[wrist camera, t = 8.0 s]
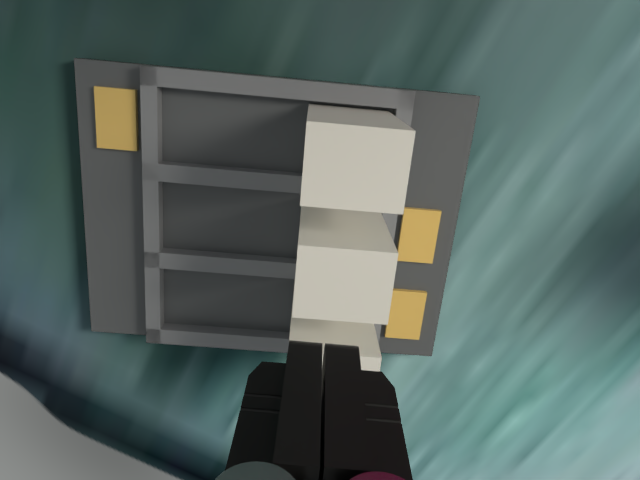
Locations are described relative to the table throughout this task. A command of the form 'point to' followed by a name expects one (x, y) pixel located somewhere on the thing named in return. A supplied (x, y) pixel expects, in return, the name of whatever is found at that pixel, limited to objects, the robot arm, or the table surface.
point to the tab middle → (344, 266)
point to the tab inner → (356, 159)
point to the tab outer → (340, 337)
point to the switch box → (243, 201)
